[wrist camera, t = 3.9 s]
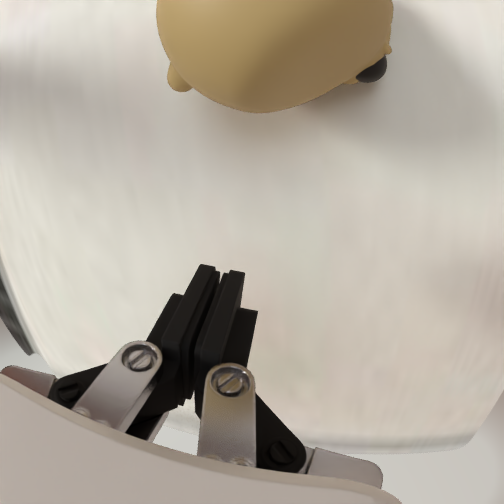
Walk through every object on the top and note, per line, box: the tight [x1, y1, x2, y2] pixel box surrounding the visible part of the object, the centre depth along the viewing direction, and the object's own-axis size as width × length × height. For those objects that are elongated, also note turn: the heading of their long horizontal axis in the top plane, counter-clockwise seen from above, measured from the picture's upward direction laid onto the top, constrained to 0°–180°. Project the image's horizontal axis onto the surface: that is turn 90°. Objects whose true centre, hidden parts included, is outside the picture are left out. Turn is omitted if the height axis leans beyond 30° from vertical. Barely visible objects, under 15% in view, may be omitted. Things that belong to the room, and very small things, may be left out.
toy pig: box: [156, 0, 393, 113], centre depth 11 cm, size 10×12×11 cm
